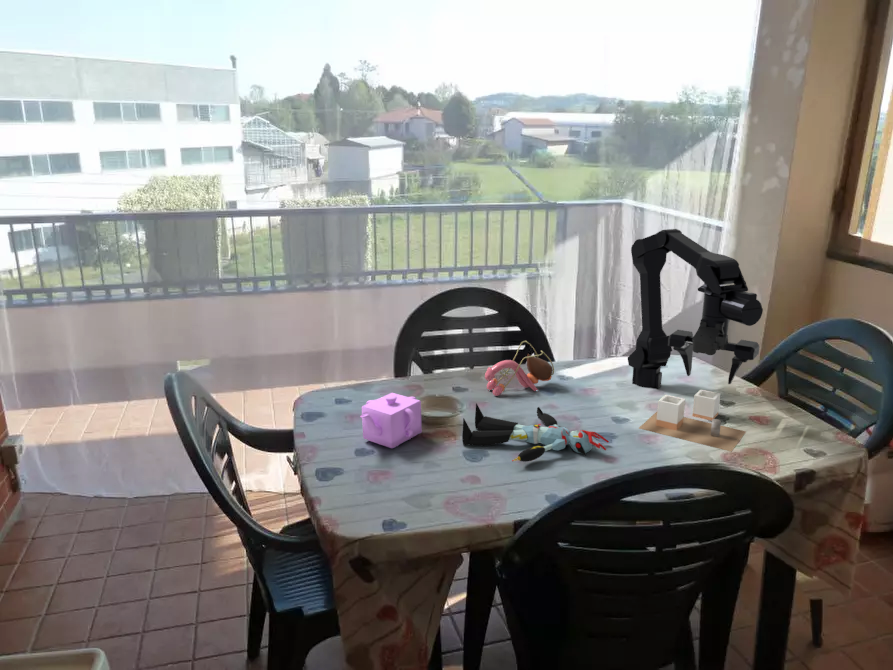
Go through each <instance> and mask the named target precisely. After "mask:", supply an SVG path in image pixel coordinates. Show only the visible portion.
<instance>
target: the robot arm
mask: <svg viewBox="0 0 893 670" xmlns="http://www.w3.org/2000/svg"><path fill="white" fill-rule="evenodd" d="M630 252H631V253H630V254H631V259H632V264H633V266H634V268H635V269H636V270H637V272H638V274H639V282H640V283H639V287H640V288H639V289H640V306H641V307H640V310H641V331H640V333H639V335H637V336H638V337H637V339H636V341H635V342H636V343H635V350H633V351H632V353H630V355H629V356H627V362H628V366H630V367H632V369H633V370H632V380H631V381H632V382H631V384H632V385H636V386H637V387H641V388H646V389H647V388H648V389H656V390H659V389H660V388H662V380H663V379H662V378H663V377H662V376H663V372H662V371H661V367H666V366H667V364H668V362H669V358H671V355H672V354H671V353H672V351H677V353H678V354H679V355H680V357H681V359H682V362H683V366H684V368H685V372H686V376H688V377H690V376H691V373H692V369H693V368H692V365H693V352H694V353H695V354H705V355H707V356H713V355H716V353H717V351H728V352H733V355H734V356H733V357H732V358H731V365H730V366H731V367H730V371H729V376H728V381H727V382H728V383H727V384H728V385H731V384H732V382H733V380H734V378H735V377H736V375H737V373H738V371H739V369H740V367H741V365H742V364H743V363H747V362H748V361H753V360H754V359H755V358H757V357H758V355H759V353H760V344H759V342H757V341H751V340H748V339H747V340H746V339H745V340H744V339H740V340H739V341H738V342H737V343H735V342H731V341H729V334H728V333H729V324H730V321H732V322H735V323H738V324H741V325H745V326H748V327H751V326H752V327H753V326H754V325H756V324H757V323H758V322H759V321H760V319H761V317H762V315H763V311H764V309H763V306H762V303H761V301H760V300H759V299H757V297H758V295H757V293H755V292H748V291H749V288H748V285H747V281H746V280H745V278H744V275H743V273H742V271H741V268H740V264H739V262H738V261H737V259H735V258H733V257H730V256H727V255H725V254H721V253H715V252H712V251H709V250H708V249H707V248H705V247H704V246H702V245H700V244H699V243H698V242H696V241H694V240H693V239H692V238H689V237H688V236H687V235H685V234H684V233H682V231H681V230H680V229H678V228H669V229H661V230H660V231H658V232H656V233H654V234H652V235H650V236H647V237H644V238H638V239H636V240H635V241H634V242H633V244H632V245H631V248H630ZM670 252H672V253H673V254H675V255H676V256H677V257H678V258H680V259H682V260H683V261H684V262H686V263H687V264H689V265H690V266H692V267H693V268H694V269H695V271H696V275H697V277H698V278H699V279H700V280H701V281H702V283H704V284H702V285H700V286H699V287H698V288H697V291H698V292H701V293H704V294H703V295H704V296H703V304H702V313H701V315H702V316H701V319H700V321H699V327H698V329H697V330H696V332H695V334H693V331H690V330H684V329H676V330H675V331H674V332H673V333H671V334H669V335H667V333H666V332H665V331H664V329H663V316H662V312H663V311H662V287H661V273H662V270H663V269H664V267H665V264H667V255H668V253H670ZM672 348H673V349H672Z"/></svg>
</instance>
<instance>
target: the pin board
mask: <svg viewBox="0 0 893 670" xmlns="http://www.w3.org/2000/svg"><path fill="white" fill-rule="evenodd" d="M656 420H657V411H655V412H654V413H653V414H652V415H651V416H650V417H649V418H648V419H647V420H645V422H644V423H642V424H641V425H640V426H639V427H638V429H639V430H643V431H648V432H652V433H655V434H659V435H663V436H667V437H671V438H675V439H679V440H683V441H688V442H692V443H695V444H699V445H702V446H703V445H704V446H708V447H711V448H714V449H720V450H724V451H727V452H730V453H731V452H732V451H733V450H734V449H735V447H736V446H737V445H738V444H739V442H740V441H741V439H742V438H743V436H744V435H745V434H746V432H747V431H746V430H742V429H738V428H733V427H729V426H724V425H722V424H721V423H722V421H721V419H718V418H715V419H713V420H712V421H711V422H706V421H704V420H699V419H694V418H690V417H685V416H684V419H683V424H682V425H681V426H680V427H679V428H678V429H677V430H673V429H669V428H665V427H661V426H656Z"/></svg>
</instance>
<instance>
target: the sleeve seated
mask: <svg viewBox="0 0 893 670" xmlns="http://www.w3.org/2000/svg"><path fill="white" fill-rule="evenodd" d="M685 407H686V398H682V397H678V396H673V395H669V394H664V395H663V396H662V397H661V398H660V399H659V400H658V401H657V410H656V412H657V420H656V426H661V427H665V428H669V429H673V430H677V429H678V428H679V427H680V426H681V425H682V424H683V419H684V417H685Z"/></svg>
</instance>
